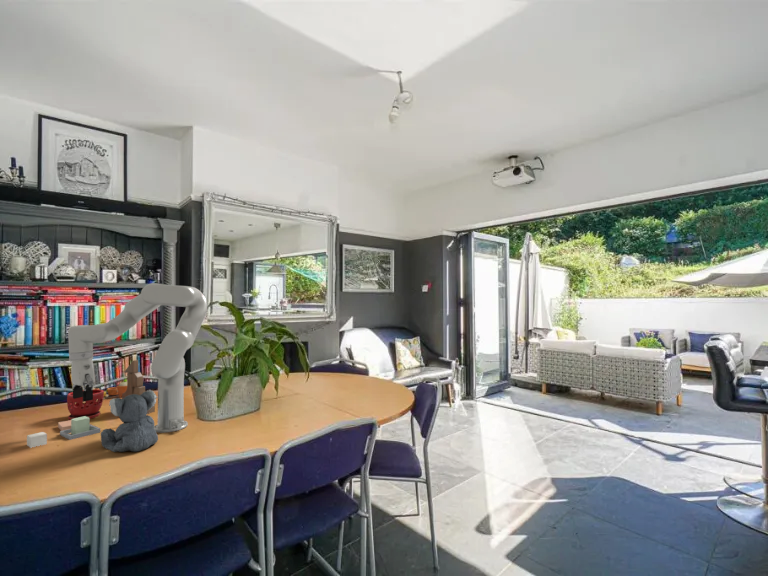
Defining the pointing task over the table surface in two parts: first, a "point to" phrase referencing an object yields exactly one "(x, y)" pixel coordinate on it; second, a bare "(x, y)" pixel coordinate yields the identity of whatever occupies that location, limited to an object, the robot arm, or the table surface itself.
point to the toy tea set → (116, 390)
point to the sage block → (80, 425)
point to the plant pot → (85, 405)
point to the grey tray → (91, 431)
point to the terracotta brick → (64, 425)
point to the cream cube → (36, 439)
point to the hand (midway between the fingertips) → (82, 399)
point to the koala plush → (131, 424)
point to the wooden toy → (135, 382)
